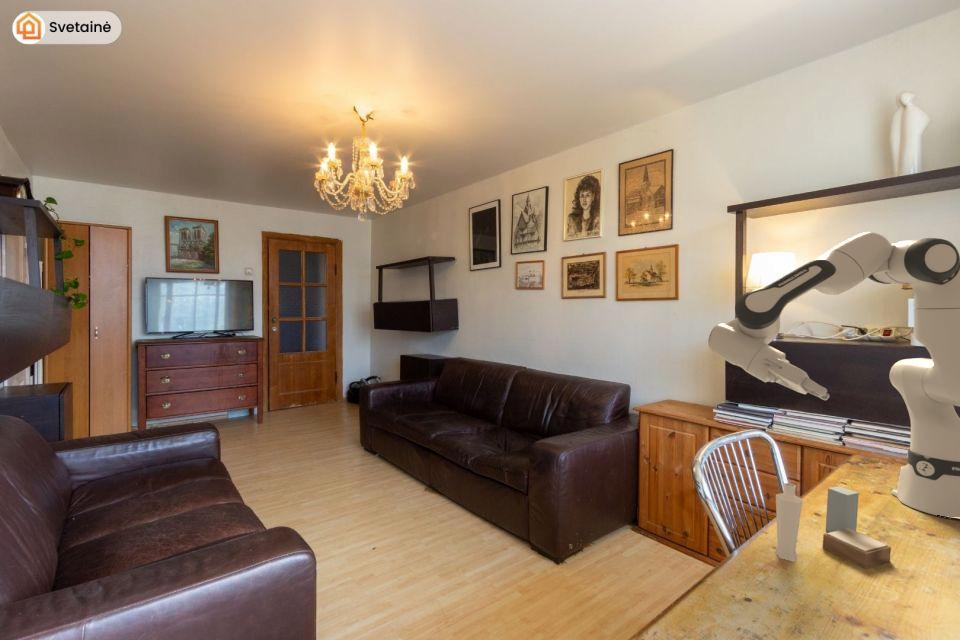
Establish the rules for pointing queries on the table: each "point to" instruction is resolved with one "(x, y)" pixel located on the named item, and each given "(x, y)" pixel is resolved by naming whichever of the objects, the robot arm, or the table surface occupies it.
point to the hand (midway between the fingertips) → (827, 395)
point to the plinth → (857, 547)
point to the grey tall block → (841, 509)
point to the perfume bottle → (787, 522)
